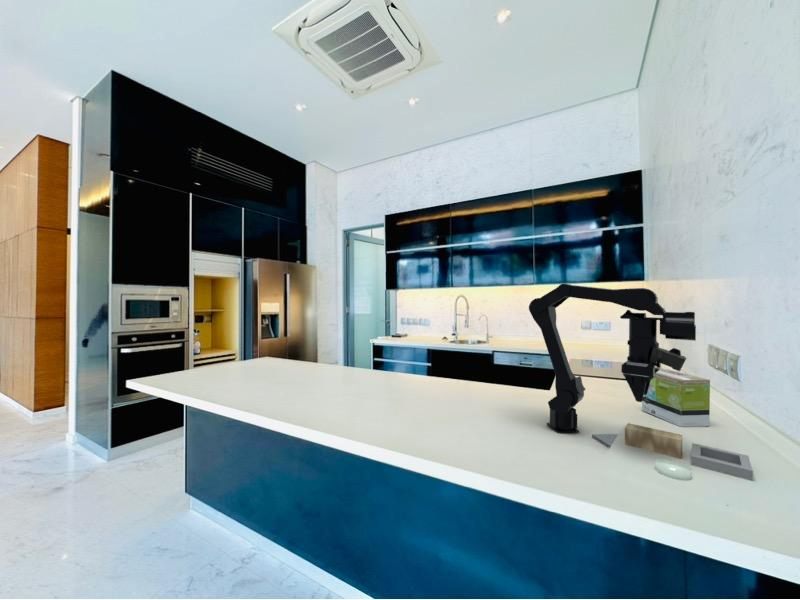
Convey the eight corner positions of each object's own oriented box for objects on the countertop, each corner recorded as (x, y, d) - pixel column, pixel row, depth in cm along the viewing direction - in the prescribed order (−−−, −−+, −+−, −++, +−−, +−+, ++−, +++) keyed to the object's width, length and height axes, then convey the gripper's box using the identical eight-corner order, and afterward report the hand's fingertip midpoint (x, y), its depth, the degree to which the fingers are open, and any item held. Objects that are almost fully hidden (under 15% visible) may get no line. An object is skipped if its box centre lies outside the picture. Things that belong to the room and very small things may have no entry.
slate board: (630, 461, 78) (630, 458, 78) (591, 437, 92) (592, 434, 92) (686, 460, 78) (686, 457, 78) (640, 436, 92) (640, 433, 92)
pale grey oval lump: (671, 485, 68) (672, 472, 68) (648, 470, 74) (648, 459, 74) (699, 484, 68) (699, 472, 68) (673, 469, 74) (673, 458, 74)
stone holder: (691, 469, 74) (691, 455, 74) (692, 455, 81) (692, 443, 81) (752, 485, 68) (752, 470, 68) (748, 468, 75) (748, 455, 75)
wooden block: (625, 427, 85) (681, 440, 77) (628, 423, 88) (682, 434, 81) (624, 445, 85) (681, 459, 77) (628, 440, 88) (682, 453, 80)
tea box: (640, 411, 115) (640, 368, 115) (667, 410, 116) (667, 368, 116) (680, 427, 100) (681, 378, 100) (711, 427, 101) (711, 378, 101)
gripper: (681, 343, 73) (680, 414, 72) (685, 337, 86) (684, 397, 86) (621, 338, 80) (620, 403, 80) (633, 334, 94) (633, 389, 94)
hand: (641, 398), depth 85 cm, fingers open, 9 cm apart
